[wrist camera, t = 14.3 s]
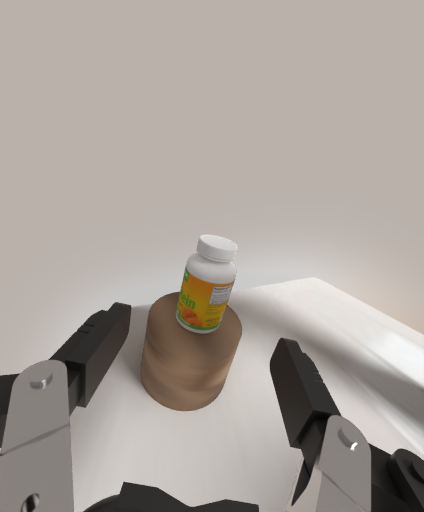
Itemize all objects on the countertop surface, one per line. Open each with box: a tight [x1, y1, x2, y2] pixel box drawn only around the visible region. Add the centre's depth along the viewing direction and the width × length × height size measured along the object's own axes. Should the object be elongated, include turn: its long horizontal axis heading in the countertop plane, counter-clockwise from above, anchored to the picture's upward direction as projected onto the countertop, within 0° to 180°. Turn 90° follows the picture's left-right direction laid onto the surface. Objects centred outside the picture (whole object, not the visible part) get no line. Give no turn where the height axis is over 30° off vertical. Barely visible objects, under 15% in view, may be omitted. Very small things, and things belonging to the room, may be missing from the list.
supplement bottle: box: [176, 235, 238, 334], centre depth 22 cm, size 5×5×10 cm
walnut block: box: [141, 292, 242, 411], centre depth 25 cm, size 11×11×8 cm
